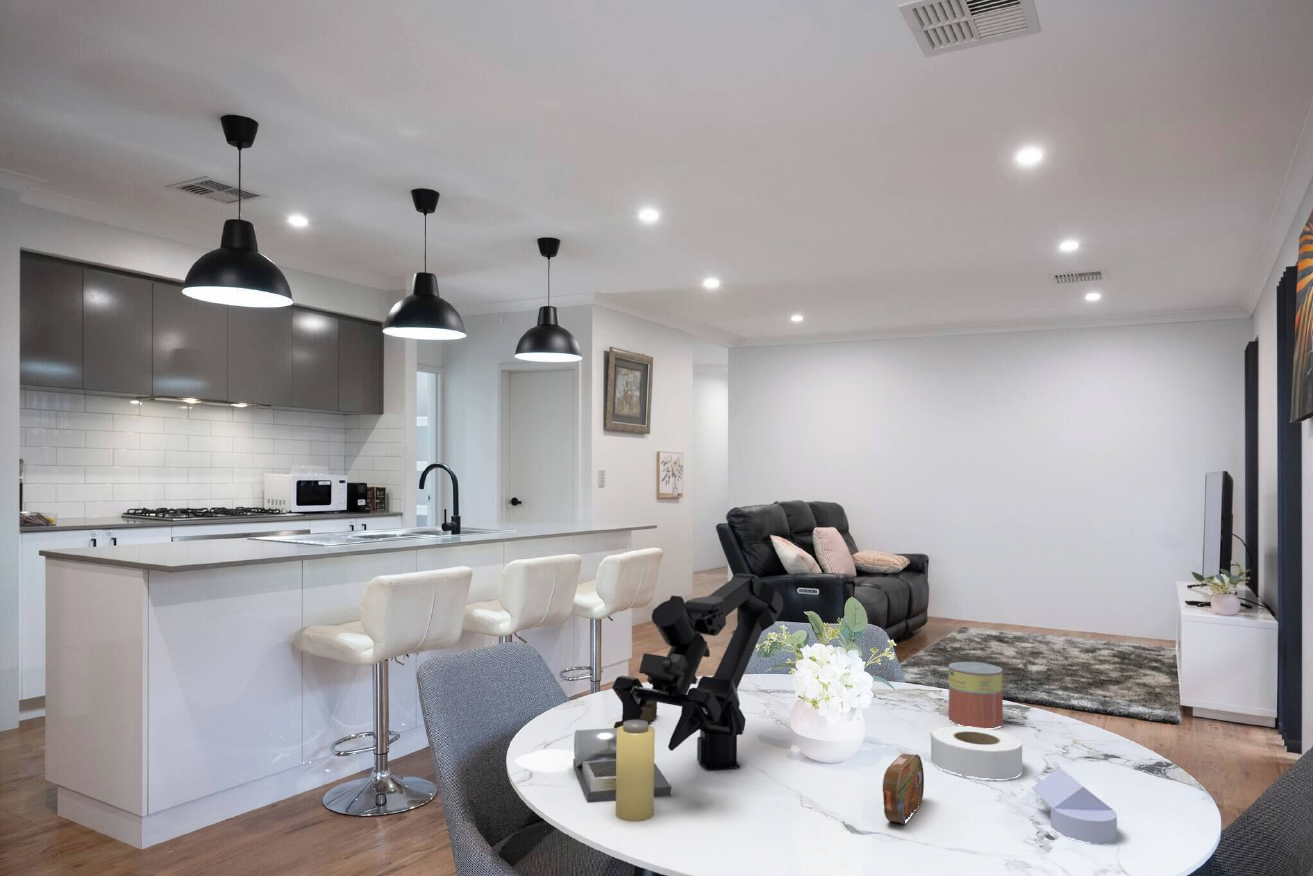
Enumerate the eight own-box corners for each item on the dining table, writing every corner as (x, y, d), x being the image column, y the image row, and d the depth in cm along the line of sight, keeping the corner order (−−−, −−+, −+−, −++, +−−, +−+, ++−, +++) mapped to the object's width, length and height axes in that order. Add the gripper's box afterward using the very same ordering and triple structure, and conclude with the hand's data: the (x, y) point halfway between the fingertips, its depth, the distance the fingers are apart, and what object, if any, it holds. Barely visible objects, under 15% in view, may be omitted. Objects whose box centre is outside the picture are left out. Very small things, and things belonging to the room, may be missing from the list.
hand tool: (630, 742, 171) (631, 719, 171) (612, 739, 172) (613, 716, 172) (667, 718, 188) (667, 697, 188) (650, 716, 190) (651, 695, 190)
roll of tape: (927, 750, 168) (927, 722, 168) (1012, 757, 164) (1012, 728, 165) (936, 778, 152) (936, 746, 153) (1030, 786, 149) (1030, 753, 149)
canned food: (957, 712, 195) (956, 659, 196) (1008, 721, 188) (1008, 666, 189) (941, 723, 186) (941, 668, 186) (995, 733, 179) (995, 675, 180)
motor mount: (648, 762, 158) (648, 721, 158) (671, 795, 142) (671, 750, 142) (573, 767, 155) (573, 725, 155) (587, 802, 138) (588, 755, 139)
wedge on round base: (1030, 809, 138) (1066, 843, 125) (1030, 767, 138) (1065, 796, 125) (1087, 810, 138) (1128, 845, 125) (1087, 768, 138) (1128, 798, 125)
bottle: (648, 804, 138) (650, 717, 138) (657, 819, 132) (658, 727, 132) (612, 807, 136) (613, 719, 137) (619, 822, 130) (620, 729, 131)
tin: (899, 832, 128) (899, 775, 129) (879, 827, 130) (879, 771, 130) (925, 800, 141) (925, 749, 141) (906, 796, 143) (906, 745, 143)
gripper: (619, 628, 147) (578, 706, 138) (713, 640, 137) (677, 726, 128) (643, 666, 154) (606, 743, 144) (735, 680, 144) (702, 765, 134)
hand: (645, 743), depth 137 cm, fingers open, 9 cm apart
